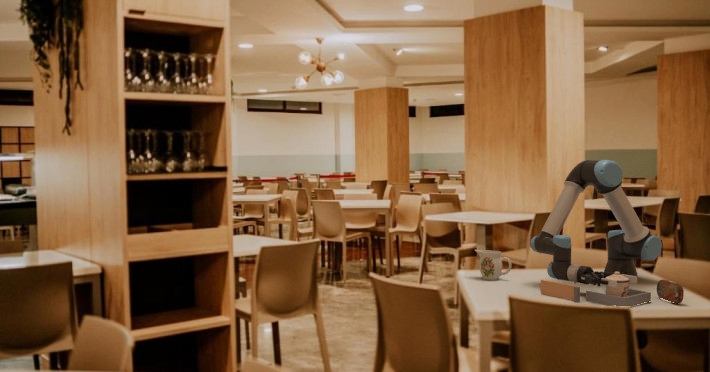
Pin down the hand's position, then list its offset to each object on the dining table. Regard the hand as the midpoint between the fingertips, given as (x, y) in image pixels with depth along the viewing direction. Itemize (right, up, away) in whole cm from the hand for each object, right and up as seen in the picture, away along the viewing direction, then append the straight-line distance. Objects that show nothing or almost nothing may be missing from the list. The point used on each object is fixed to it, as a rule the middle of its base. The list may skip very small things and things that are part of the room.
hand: (626, 281), depth 252 cm
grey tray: (-5, -8, +3) cm, 10 cm away
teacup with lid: (-2, -8, +3) cm, 9 cm away
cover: (-23, -8, +13) cm, 27 cm away
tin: (+18, -9, +2) cm, 20 cm away
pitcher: (-41, -7, +55) cm, 69 cm away
